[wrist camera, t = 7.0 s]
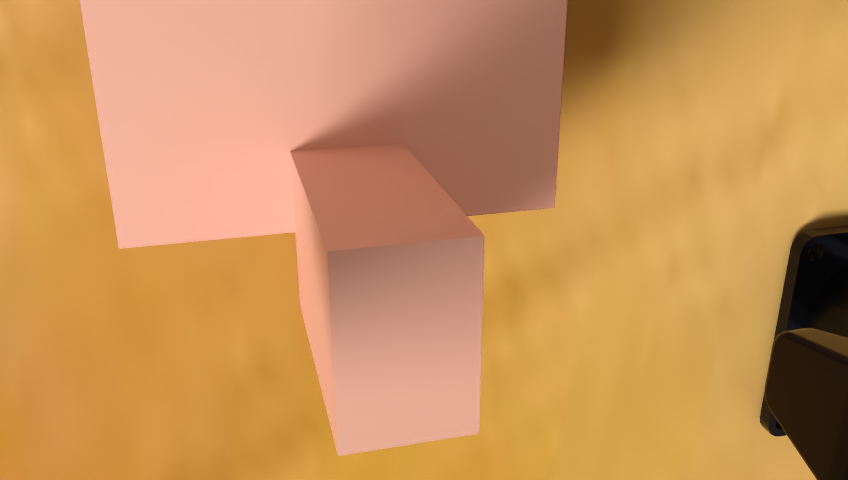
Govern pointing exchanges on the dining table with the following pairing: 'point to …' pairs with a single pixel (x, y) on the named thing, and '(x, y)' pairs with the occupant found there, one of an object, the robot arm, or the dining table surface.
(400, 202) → the pink t-shaped block
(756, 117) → the dining table surface
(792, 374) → the robot arm
